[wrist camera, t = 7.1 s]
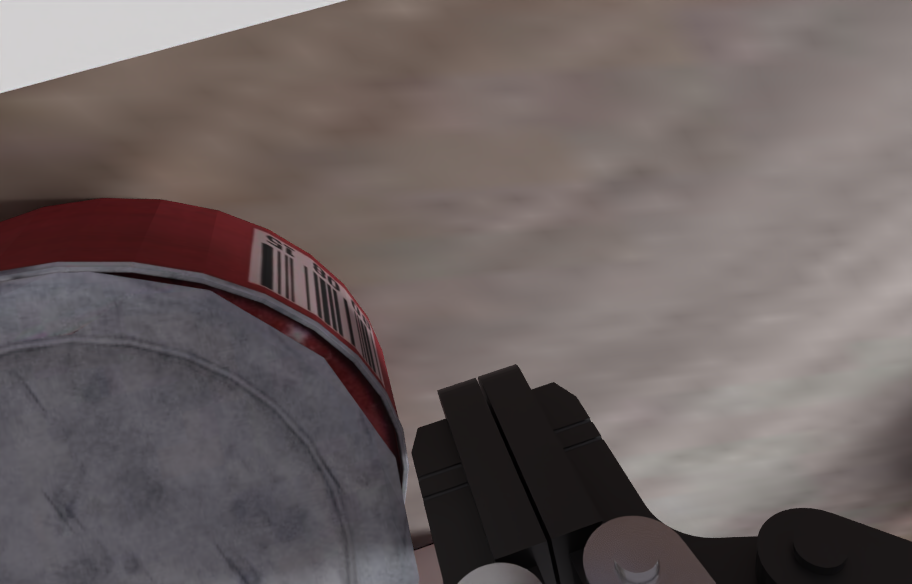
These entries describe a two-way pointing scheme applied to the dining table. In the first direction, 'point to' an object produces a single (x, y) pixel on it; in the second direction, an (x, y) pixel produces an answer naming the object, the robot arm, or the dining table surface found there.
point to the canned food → (189, 407)
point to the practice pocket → (126, 36)
